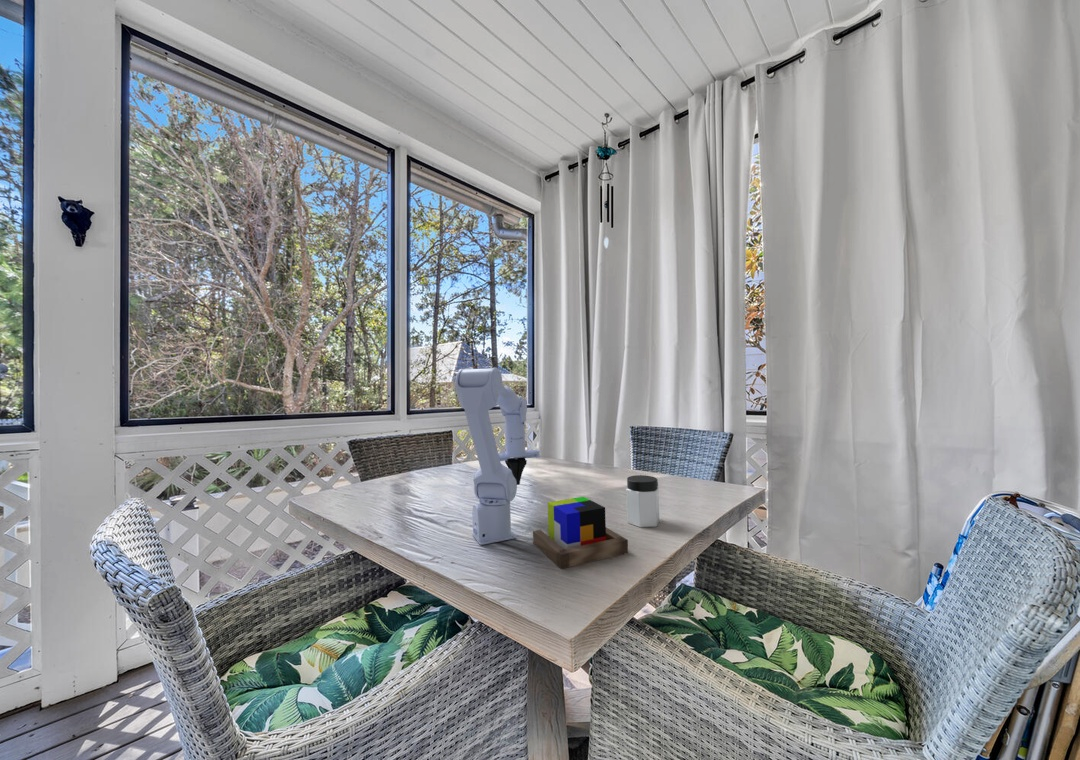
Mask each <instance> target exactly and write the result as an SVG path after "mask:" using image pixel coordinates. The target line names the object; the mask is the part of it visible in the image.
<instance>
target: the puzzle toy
mask: <svg viewBox="0 0 1080 760" xmlns="http://www.w3.org/2000/svg"><path fill="white" fill-rule="evenodd" d="M547 520H548V521H547V524H548V525H547V526H548V530H547V531H548V536H549V537H550V538H551V539H553V540H554V541H555V542H556V543H558V544H559V545H560V546H561V547H563V548H564V549H568V548H573V547H577V546H582V545H587V544H591V543H596V542H601V541H605V540H606V528H607V526H606V524H607V523H606V507H605V506H604V505H601V504H600V503H597V502H596V501H593V500H591V499H589V498H587V497H585V496H580V497H573V498H567V499H561V500H555V501H548V502H547Z"/></svg>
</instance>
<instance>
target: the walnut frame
mask: <svg viewBox="0 0 1080 760" xmlns="http://www.w3.org/2000/svg"><path fill="white" fill-rule="evenodd" d="M532 543H533V545H534V546H535V547H537V549H539V550H540V551H541V552H542V553H543V554H544V555H545V556H546V557H547V558H548V559H549V560H551V561H552V563H554V564H555V565H556V566H557V567H558V568H559V569H560V570H562V569H566V568H570V567H575V566H579V565H583V564H587V563H591V562H596V561H601V560H604V559H608V558H613V557H618V556H621V554H622V555H626V554H629V541H628V539H627V538H625V537H624V536H622V535H621V534H618V533H617V532H615V531H613V530H611V529H610V528H608V527H606V540H605V541H601V542H596V543H591V544H587V545H582V546H577V547H573V548H568V549H564V548H563V547H561V546H560V545H559V544H558V543H556V542H555V541H554V540H553V539H551V538H550V537H549V534H548V535H547V533H545V532H544V531H543V530H541V529H537V530H536V529H535V530H533V531H532ZM625 553H626V554H625ZM617 555H618V556H617Z"/></svg>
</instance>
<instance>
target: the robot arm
mask: <svg viewBox="0 0 1080 760" xmlns="http://www.w3.org/2000/svg"><path fill="white" fill-rule="evenodd" d="M454 389H455V392H456V395H457V396H456V397H457V399H458V402H459V406H460V407H461V408H462V409H464V414H465V417H466V420H467V421H466V422H467V424H468V428H469V431H470V435H471V439H472V441H473V443H472V444H473V446H474V450H475V454H476V456H477V459H478V464H479V468H478V469H477V470H476V472H475V473H474V477H473V479H472V481H473V492H474V495H475V498H476V499H477V500H478V503H476V504H474V505H473V506H472V511H471V512H472V533H471V534H472V536H473V538H475V540H476V541H477V543H478V544H479V545H480V546H481V545H482V546H484V545H488V544H492V543H498V542H504V541H507V540H508V541H509V540H514V539H517V537H518V536H517V535H516V534H515V533H514V532H513V531H512V525H511V524H512V523H511V521H512V520H511V518H512V517H511V515H512V514H511V502H512V501H513V500H514V499H515V497H516V496H517V491H518V486H519V485H520V484H521V480H522V475H523V472H524V469H525V467H526V466H527V463H528V461H527V459H531V458H533V459H534V458H536V459H537V458H540V457H541V456H540V454H541V453H540V450H538V449H533V450H532V449H531V450H526V439H525V438H526V436H525V435H526V432H525V431H526V429H525V426H526V425H525V422H527V421H526V420H527V412H528V403H527V399H526V398H524V397H523V396H519V395H518V394H517V393H516V392H515V391H514V390H513V388H511V387H510V385H504V384H503V375H502V373H501V371H500V370H499V368H498V367H492V368H491V367H489V368H488V367H487V368H466V369H465V368H460V369H459V370H458V371H457V373H456V376H455V382H454ZM496 406H498V407H499V408H500V411H501V414H502V417H504V432H505V433H504V437H505V438H504V441H505V452H500V453H499V451H498V447H497V442H496V438H495V434H494V429H493V426H492V421H491V419H490V413H489V411H490V410H491V409H493V408H495V407H496ZM502 462H504V463H505V464H506V465H504V464H502Z"/></svg>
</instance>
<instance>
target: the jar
mask: <svg viewBox="0 0 1080 760" xmlns="http://www.w3.org/2000/svg"><path fill="white" fill-rule="evenodd" d="M626 479H627V480H626V483H627V485H626V487H627V488H626V489H625V491H626V519H627V520H626V521H627V524H629V525H632V526H635V527H637V528H652V527H657V526H658V525H659V522H660V501H659V500H660V498H659V497H660V496H659V493H660V492H659V481H658V478H657V477H655V476H653V475H646V474H643V475H641V474H640V475H639V474H638V475H637V474H636V475H630V476H628V477H627V478H626Z"/></svg>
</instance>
